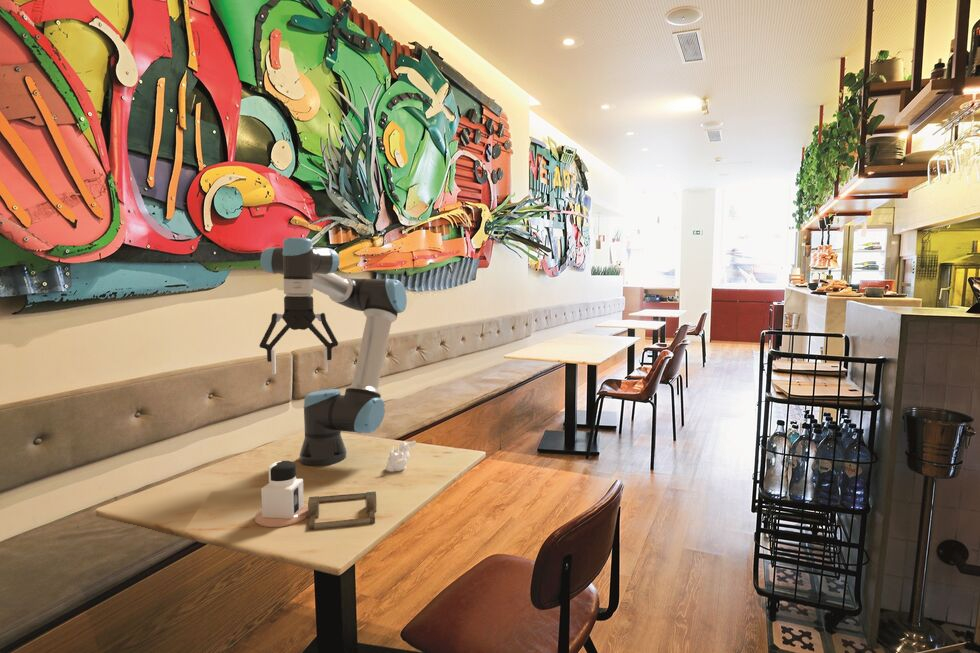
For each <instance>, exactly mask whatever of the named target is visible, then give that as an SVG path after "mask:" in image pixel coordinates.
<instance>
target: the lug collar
mask: <svg viewBox="0 0 980 653" xmlns="http://www.w3.org/2000/svg"><path fill="white" fill-rule="evenodd" d="M362 499H365V507H366V508H365V510H366V513H367V514H368V513H369V517H362V518H352V519H351V518H350V519H342V520H331V521H321V522H316V520H317V518H319V516H320V503H327V502H339V501H351V500H362ZM307 507H308V517H307V518H308V519H309V521H308V530H309V531H311V530H322V529H331V528H332V529H333V528H340V527H342V528H344V527H352V526H362V525H363V526H364V525H369V524H371V525H373V524H375V523H376V516H375V513H376V512H377V492H376V491H366V492H362V493H360V492H359V493H346V494H336V495H326V496H325V495H324V496H323V495H322V496H318V495H317V496H309V497H308V501H307Z"/></svg>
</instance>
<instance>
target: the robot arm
mask: <svg viewBox="0 0 980 653" xmlns="http://www.w3.org/2000/svg"><path fill="white" fill-rule="evenodd" d="M260 265H261V268H262V269H263V271H264V272H266V273H268V274H274V275H276V274H280V275H283V294H284V295H286V296H284V297H283V308H284V309H283V314H281V313H277V312H274V313H272V314H271V320H270V321H271V322H270V323H269V325H268V327H267V329H266V332H265V333H264V335H263V337H262V339H261V340H260V344H259V345H258V346H259V348H261V349H265V350H266V357H267V358H266V359H267V362H268V363H269V362H271V375H276V373H277V360H276V357H277V355H276V353H277V352H276V348H274V347H275V345H276V344H277V343H278V342H279V341H280V340H281V338H283V336H284V335H285V334H286V333H287V332H288V331H289V329H290V330H294V331H296V330H301V331H302V330H303V331H306V330H307V329H309V330H310V332H311V333H313V335H315V336H316V338H317V339H318V340H319V341H320V342H321V343H322V344H323V345H324V348H323V356H324V357H323V358H324V360H323V362H324V363H323V364H324V365H323V366H324V372H323V373H325V374H326V373H327V374H328V371H329V370H328V368H329V366H328V363H329V362H328V361H331V360H332V358H333V357H332V356H333V354H332V353H333V351H332V350H333V348H335V347H337V346H338V345H339V341H338V340H337V338H336V336H335V334H334V332H333V331H332V329H331V327H330V325H329V323H328V321H327V317H326V313H325V312H321V313H315V311H314V297H313V296H312V295H313V294H314V290H316V291H318V292H320V293H322V294H324V295H326V296H328V297H329V299H330V300H331V301H333V302H334V303H337V304H338V305H342V306H343V307H346V308H348V309H352V310H355V311H359V312H363V315H364V316H365V317H366V319H365V322H364V327H363V333H362V338H361V341H360V345H359V351H358V355H357V361H356V364H355V370H354V374H353V378H352V382H351V384H350V385H349V386H348V387H346V388H345V392H344V394H343V395H342V394H341V390H340V389H337V388H330V389H322V390H317V391H312V392H310V393H307V394H306V395H305V396H304V398H303V401H304V402H303V417H304V438H303V441H302V442H303V443H302V445H301V449H300V452H299V462H300V463H301V464H303V465H307V466H311V467H312V466H314V467H315V466H316V467H319V466H329V465H330V466H331V465H334V464H339V463H340V462H342V461H343V460H346V458H347V449H346V446H345V443H344V440H343V436H342V433H341V432H348V433H349V432H350V433H356V434H371V433H374V432H375V431H377V429H379V427H380V426H381V424H382V423H383V419H384V417H385V413H386V412H385V411H386V408H385V405H386V404H385V402H384V400H383V399H382V397H381V396H382V394H381V392H380V391H379V384H380V379H381V375H382V369H383V365H384V360H385V356H386V355H385V354H386V350H387V346H388V340H389V336H390V332H391V331H390V330H391V326H392V323H394V322H395V321H396V320H397V318H398V315H399V314H402V313H403V312H404V311H405V310H406V308H407V302H408V301H407V299H408V298H407V292H406V288H405V286H404V284H403V283H402V282H401V281H400V280H398V279H393V278H351V277H348V276H346V275H339V274H338V275H337V274H336V273H335V272H336V271H337V269H338V268H339V266H340V256H339V254H338V252H336V250H334V249H333V248H330V247H326V246H325V247H322V246H321V247H319V246H314V245H313V241H312V240H311V239H310V238H308V237H287V238H285V239H283V242H282V247H278V246H275V247H267V248H265V249H263V251H262V252H261V254H260ZM281 319H282V320H283V321H284V322H285V325H284V327H282V329H281V330H280V332H278V333H277V334H276V336H275V337H274V338H273V339H272V340H271V341H270V343H268V340H269V339H270V337H271V335H272V333H273V331H274V329H275V327H276V325H277V323H278V322H280V320H281ZM315 319H317V320H318V322H321V324H322V326H323V328H324V330H325V333H326V334H327V335H328V337H329V339H330V341H331V342H330V341H329V340H328V339H327V338H326V337H325V336H324V334H322V333H321V331H319V329H318V328H317V327H316V326H315V325H314V324H313V322H314V321H315Z"/></svg>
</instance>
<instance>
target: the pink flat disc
mask: <svg viewBox="0 0 980 653" xmlns="http://www.w3.org/2000/svg"><path fill="white" fill-rule="evenodd" d="M307 518H308V505H305V504H304V506H303V508H302V509H301V510H300V511H298V512H297V513H296V514H295V515H294V516H293V517H292V518H291V519H280V518H263V517H262V509H260V510H259V511H258V512H257V513H256V514H255V515H254V522H255V523H256V524H257V525H258V526H261V527H265V528H281V527H282V528H283V527H288V526H292V525H295V524H298V523H301V522H302V521H305V520H306V519H307Z"/></svg>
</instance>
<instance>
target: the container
mask: <svg viewBox="0 0 980 653" xmlns="http://www.w3.org/2000/svg"><path fill="white" fill-rule="evenodd" d="M304 502H305V500H304V479H303V478H297V465H296V463H295V462H294V461H290V460H280V461H276V462H273V463H271V464H270V465H269V466H268V482H267V484H266V485H264V486H263V487H262V488H261V510H262V517H263V518H280V519H291V518H292V517H293V516H294V515H295V514H296V513H297V512H298V511H300V510H301V509H302V508H303V506H304V505H305V504H304Z"/></svg>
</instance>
